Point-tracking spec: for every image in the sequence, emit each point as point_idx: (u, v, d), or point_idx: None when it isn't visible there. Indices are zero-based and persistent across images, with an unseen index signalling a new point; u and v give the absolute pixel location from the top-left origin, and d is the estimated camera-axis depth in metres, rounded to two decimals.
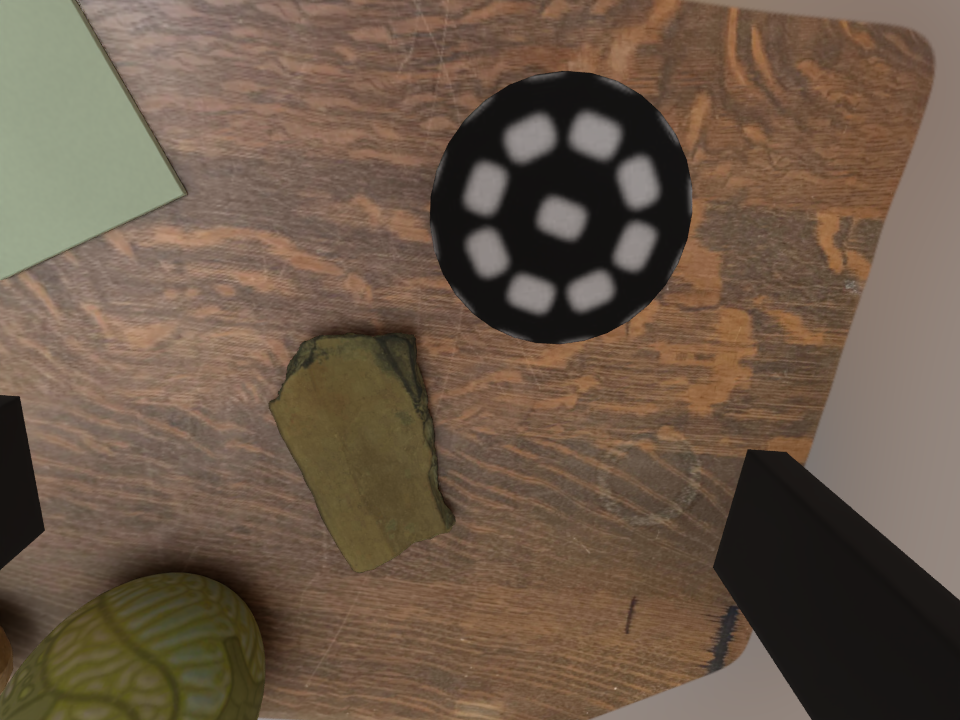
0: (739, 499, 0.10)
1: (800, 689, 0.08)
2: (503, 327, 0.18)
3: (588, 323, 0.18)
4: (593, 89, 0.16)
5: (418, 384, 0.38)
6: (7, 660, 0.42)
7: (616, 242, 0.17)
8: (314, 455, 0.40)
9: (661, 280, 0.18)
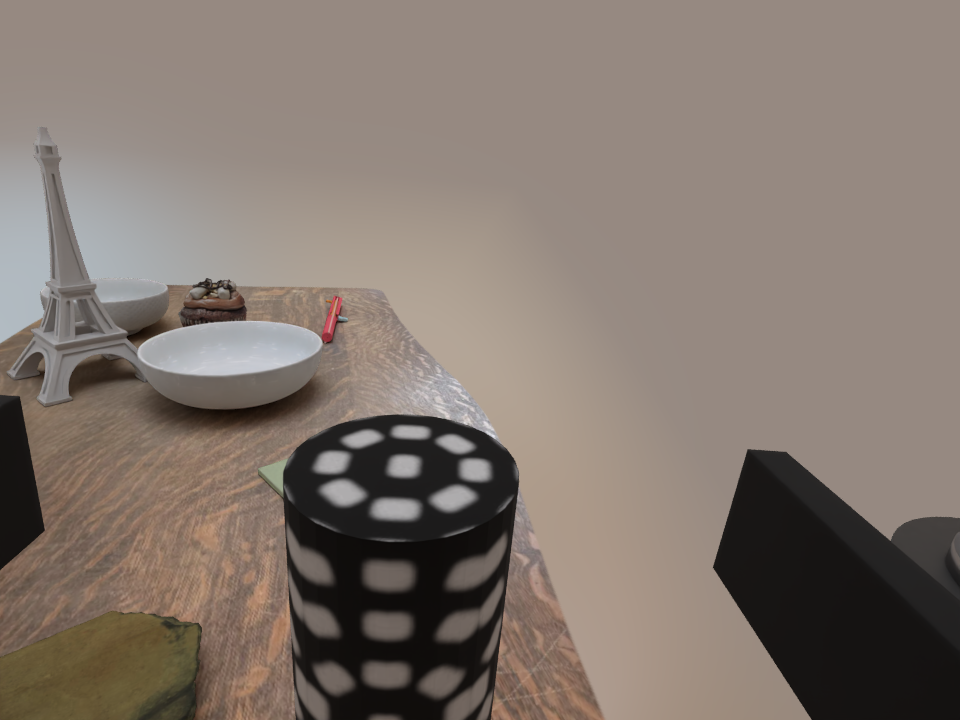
0: (739, 499, 0.10)
1: (800, 689, 0.08)
2: (297, 454, 0.20)
3: (308, 497, 0.17)
4: (505, 463, 0.20)
5: None
6: None
7: (395, 497, 0.18)
8: (20, 663, 0.31)
9: (367, 536, 0.16)
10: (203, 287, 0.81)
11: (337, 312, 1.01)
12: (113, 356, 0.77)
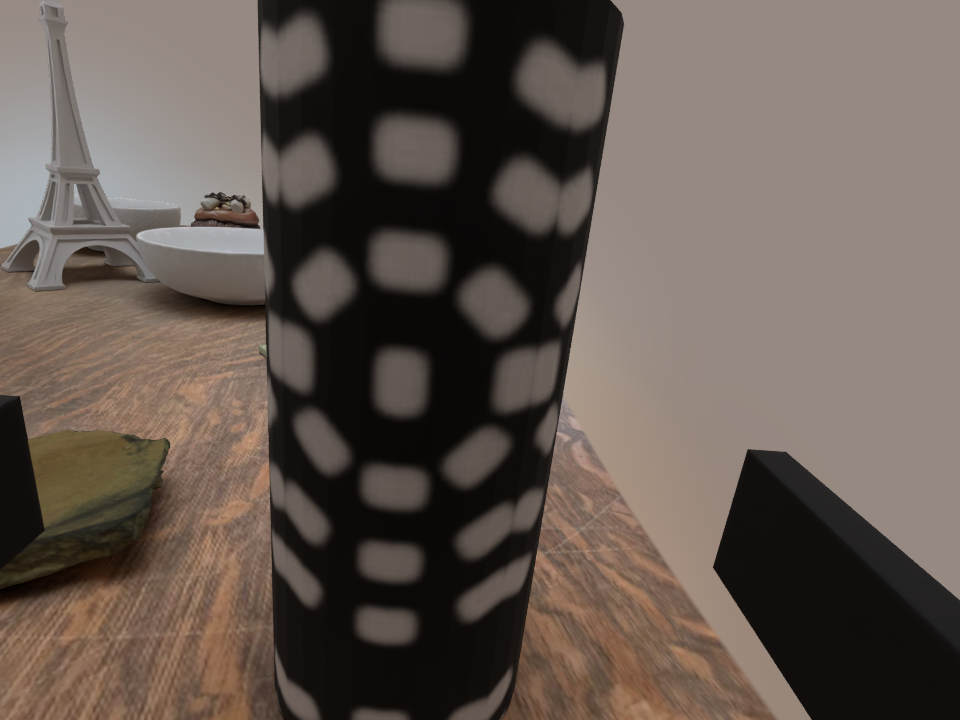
0: (739, 499, 0.10)
1: (800, 689, 0.08)
2: None
3: None
4: None
5: None
6: None
7: None
8: None
9: None
10: (215, 198, 0.76)
11: None
12: (116, 262, 0.72)
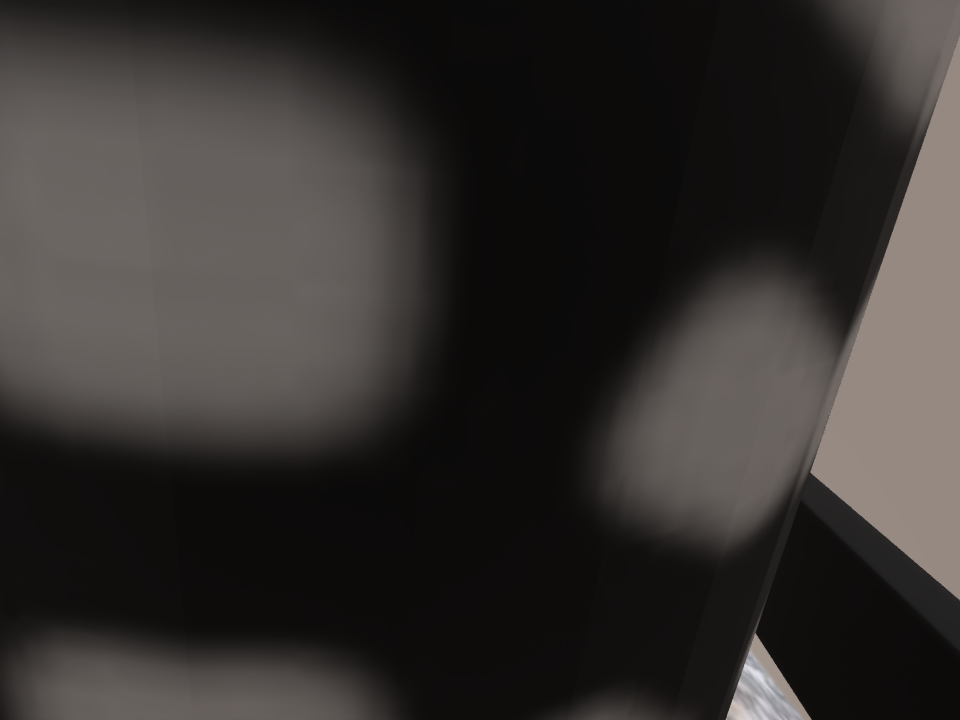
0: None
1: (800, 689, 0.08)
2: None
3: None
4: None
5: None
6: None
7: None
8: None
9: None
10: None
11: None
12: None
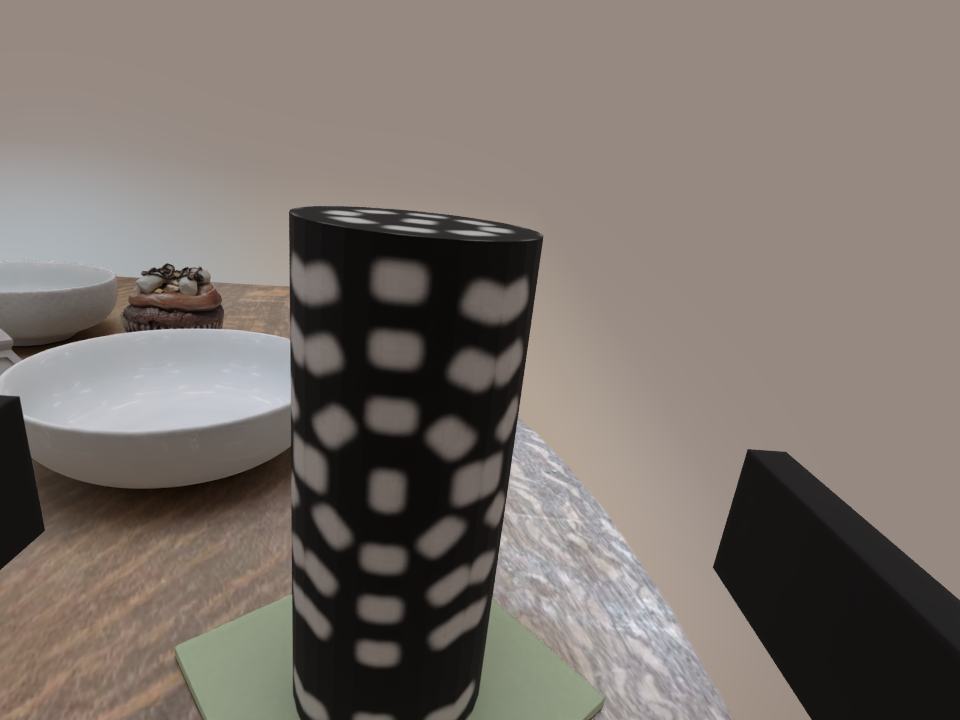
0: (739, 499, 0.10)
1: (800, 689, 0.08)
2: (306, 208, 0.19)
3: (315, 217, 0.16)
4: (528, 231, 0.19)
5: None
6: None
7: (409, 226, 0.16)
8: None
9: None
10: (157, 276, 0.54)
11: None
12: None
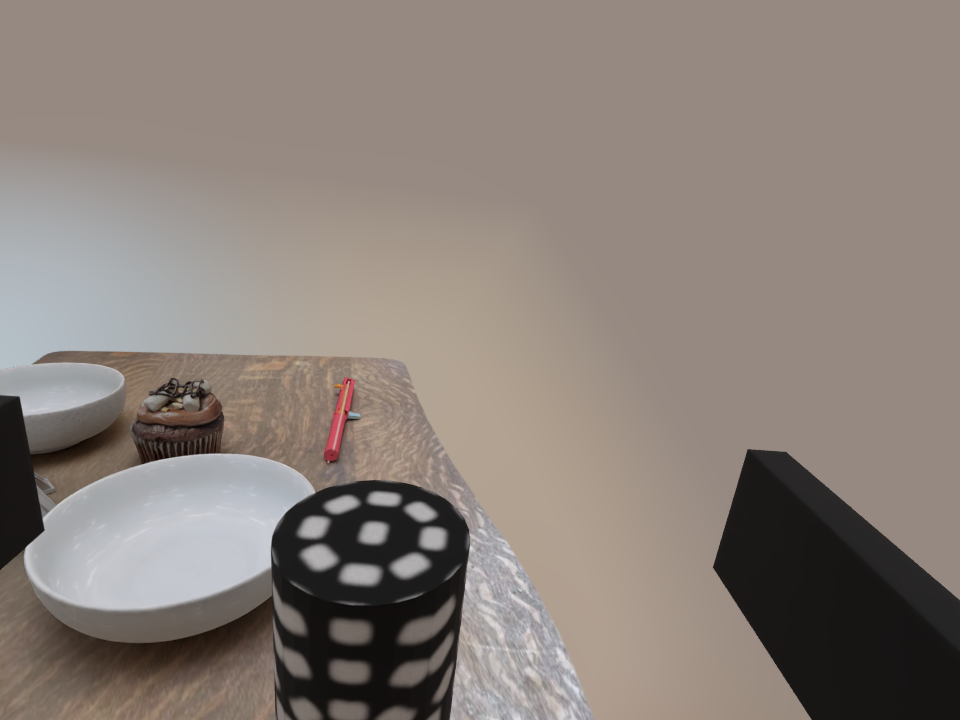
0: (739, 499, 0.10)
1: (800, 689, 0.08)
2: (285, 518, 0.24)
3: (290, 561, 0.21)
4: (460, 532, 0.24)
5: None
6: None
7: (362, 562, 0.22)
8: None
9: (334, 598, 0.20)
10: (163, 395, 0.59)
11: (347, 407, 0.79)
12: None
